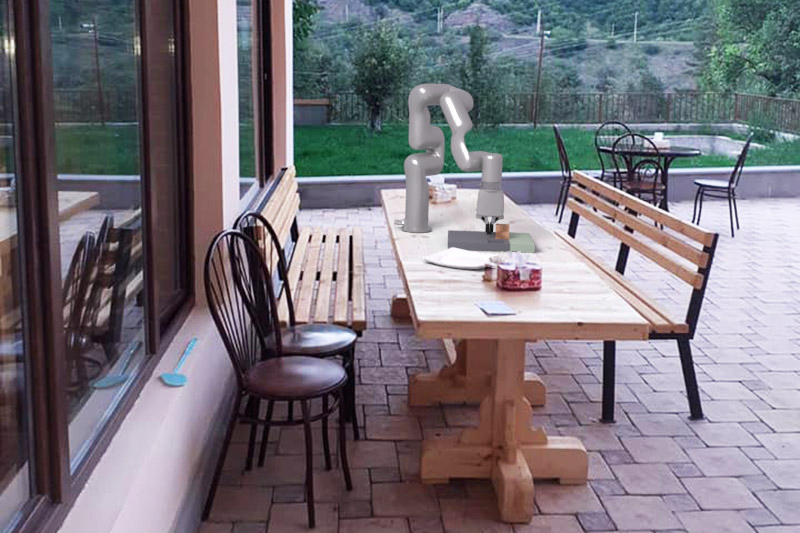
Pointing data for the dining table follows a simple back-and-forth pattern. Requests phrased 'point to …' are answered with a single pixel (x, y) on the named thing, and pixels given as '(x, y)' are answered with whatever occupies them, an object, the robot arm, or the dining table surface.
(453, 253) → the plate
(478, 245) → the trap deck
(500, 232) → the terracotta block
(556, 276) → the dining table surface
